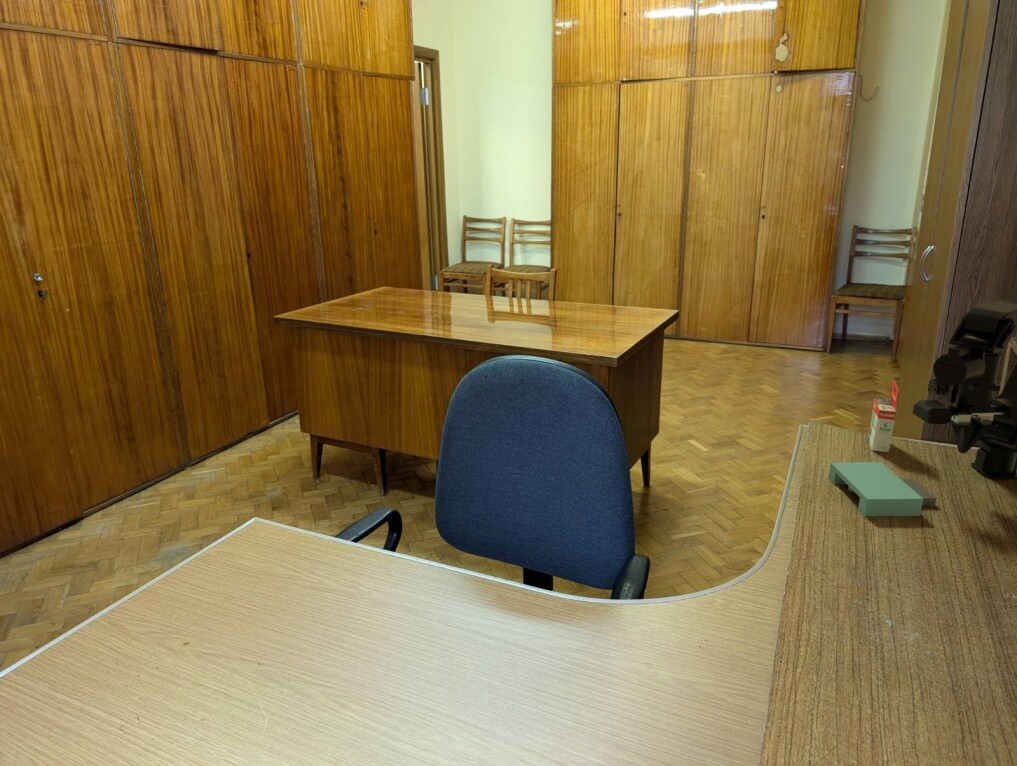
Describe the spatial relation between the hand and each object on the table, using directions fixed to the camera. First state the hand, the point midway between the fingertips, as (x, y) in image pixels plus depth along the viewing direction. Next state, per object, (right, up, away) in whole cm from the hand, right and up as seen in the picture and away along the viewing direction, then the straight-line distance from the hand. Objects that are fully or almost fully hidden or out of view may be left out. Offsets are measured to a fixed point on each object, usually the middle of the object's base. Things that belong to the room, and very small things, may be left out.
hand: (962, 452), depth 132 cm
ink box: (-4, -1, +23) cm, 23 cm away
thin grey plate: (-13, -8, +1) cm, 15 cm away
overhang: (-17, -8, 0) cm, 19 cm away
